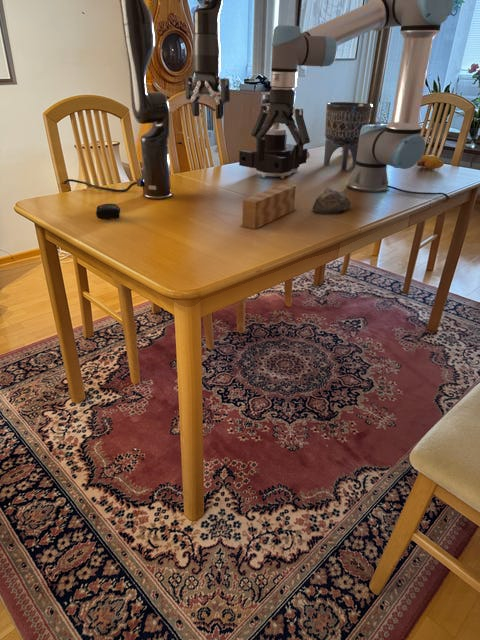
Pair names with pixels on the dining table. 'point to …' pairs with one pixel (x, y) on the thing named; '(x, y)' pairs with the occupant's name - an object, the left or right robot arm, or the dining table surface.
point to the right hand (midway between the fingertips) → (277, 164)
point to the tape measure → (108, 211)
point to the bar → (268, 205)
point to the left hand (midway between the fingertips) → (207, 117)
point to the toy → (430, 162)
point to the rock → (331, 202)
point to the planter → (345, 128)
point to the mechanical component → (273, 155)
